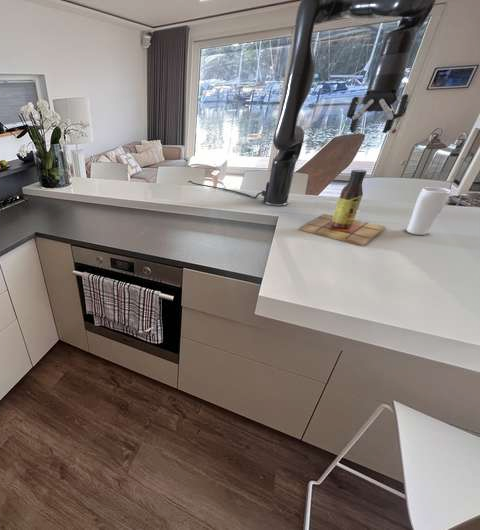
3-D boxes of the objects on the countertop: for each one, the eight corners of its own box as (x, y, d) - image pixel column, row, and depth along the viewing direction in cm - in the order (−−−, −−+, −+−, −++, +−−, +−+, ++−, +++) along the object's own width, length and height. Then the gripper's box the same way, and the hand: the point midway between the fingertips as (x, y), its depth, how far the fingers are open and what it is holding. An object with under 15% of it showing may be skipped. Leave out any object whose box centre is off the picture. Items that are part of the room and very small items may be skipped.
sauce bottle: (347, 230, 102) (366, 173, 92) (327, 226, 106) (344, 171, 96) (354, 225, 105) (374, 170, 95) (335, 221, 109) (352, 167, 100)
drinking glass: (426, 230, 100) (447, 187, 93) (432, 237, 95) (455, 193, 88) (401, 227, 103) (419, 186, 96) (405, 234, 98) (425, 191, 91)
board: (299, 229, 108) (300, 226, 107) (323, 216, 118) (324, 213, 117) (363, 246, 94) (364, 242, 93) (384, 228, 104) (385, 225, 103)
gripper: (424, 69, 82) (400, 131, 90) (364, 75, 92) (347, 130, 100) (416, 70, 78) (392, 134, 86) (354, 75, 88) (338, 133, 96)
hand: (368, 132), depth 93 cm, fingers open, 8 cm apart
